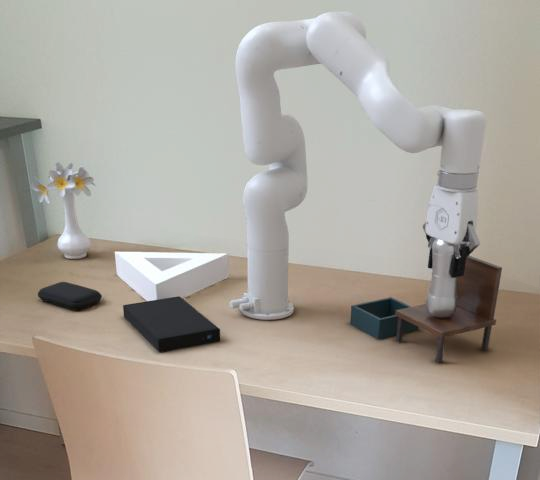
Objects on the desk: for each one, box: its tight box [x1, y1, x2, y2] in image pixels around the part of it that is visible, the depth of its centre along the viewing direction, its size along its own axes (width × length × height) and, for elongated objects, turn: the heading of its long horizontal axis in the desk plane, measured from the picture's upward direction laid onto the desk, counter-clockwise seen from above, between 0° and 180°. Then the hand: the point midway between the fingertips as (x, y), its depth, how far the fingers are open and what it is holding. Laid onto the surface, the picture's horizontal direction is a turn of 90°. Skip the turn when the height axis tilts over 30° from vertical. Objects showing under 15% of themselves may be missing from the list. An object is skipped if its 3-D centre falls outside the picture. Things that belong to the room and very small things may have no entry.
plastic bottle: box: [424, 239, 463, 317], centre depth 161 cm, size 6×7×20 cm
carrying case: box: [37, 281, 103, 311], centre depth 192 cm, size 11×3×15 cm
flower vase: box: [29, 160, 96, 260], centre depth 217 cm, size 13×18×25 cm
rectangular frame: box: [349, 296, 420, 340], centre depth 179 cm, size 12×11×4 cm
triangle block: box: [114, 251, 230, 302], centre depth 203 cm, size 30×26×6 cm
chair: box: [395, 255, 503, 364], centre depth 166 cm, size 15×15×18 cm
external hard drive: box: [122, 296, 221, 353], centre depth 177 cm, size 14×23×3 cm, turn 27°
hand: (445, 271), depth 162 cm, fingers closed on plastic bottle, 6 cm apart
